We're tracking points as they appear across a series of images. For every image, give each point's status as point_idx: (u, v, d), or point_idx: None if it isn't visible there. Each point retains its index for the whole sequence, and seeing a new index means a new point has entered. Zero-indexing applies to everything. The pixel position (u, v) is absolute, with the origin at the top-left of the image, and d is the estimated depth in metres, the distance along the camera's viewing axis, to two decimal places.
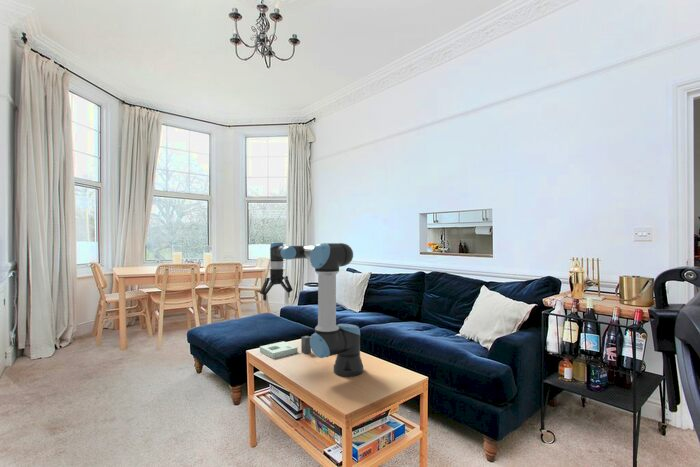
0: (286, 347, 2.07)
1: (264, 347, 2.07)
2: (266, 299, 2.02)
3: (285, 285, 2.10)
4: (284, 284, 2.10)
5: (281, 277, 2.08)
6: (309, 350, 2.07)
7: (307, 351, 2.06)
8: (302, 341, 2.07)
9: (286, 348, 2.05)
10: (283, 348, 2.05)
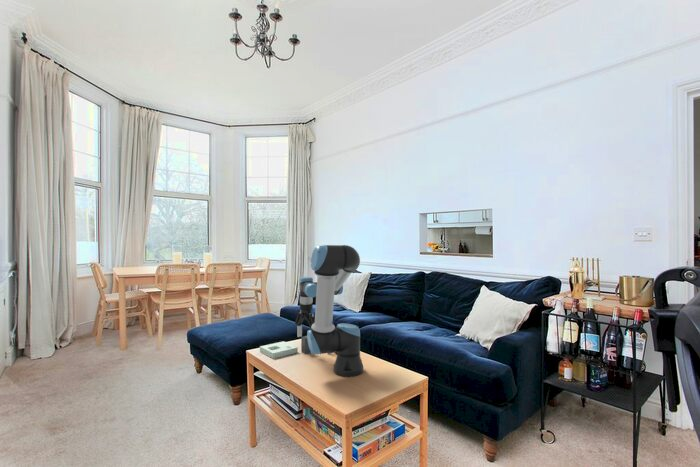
0: (286, 347, 2.07)
1: (264, 347, 2.07)
2: None
3: (309, 322, 2.03)
4: (308, 321, 2.04)
5: (307, 313, 2.05)
6: (309, 350, 2.07)
7: (307, 351, 2.06)
8: (302, 341, 2.07)
9: (286, 348, 2.05)
10: (283, 348, 2.05)
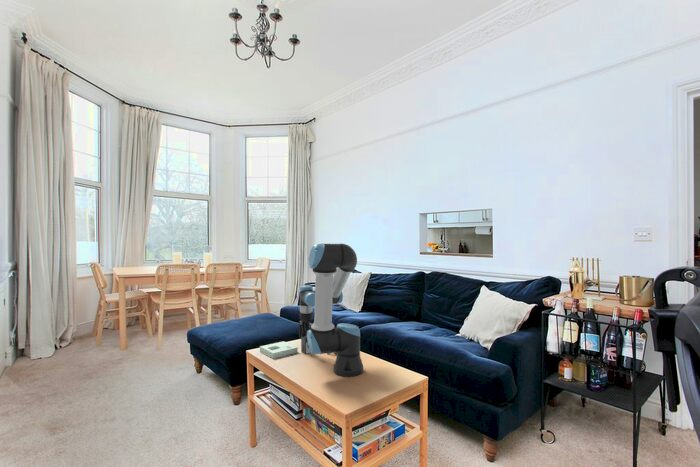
0: (286, 347, 2.07)
1: (264, 347, 2.07)
2: None
3: (307, 333, 2.05)
4: (306, 331, 2.05)
5: (307, 322, 2.05)
6: None
7: None
8: (301, 341, 2.07)
9: (286, 348, 2.05)
10: (283, 348, 2.05)
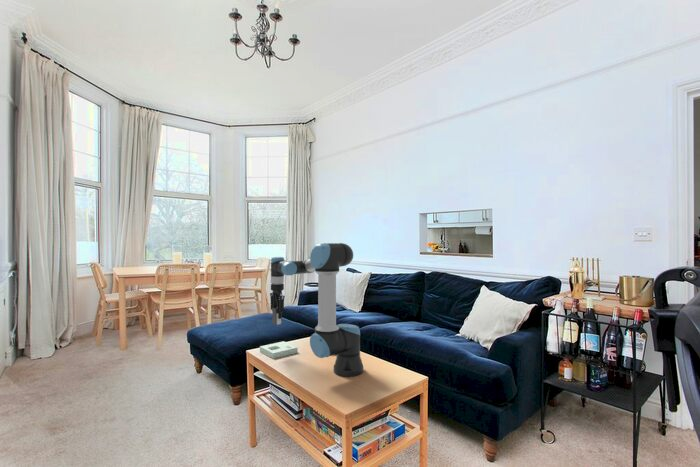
0: (286, 347, 2.07)
1: (264, 347, 2.07)
2: None
3: (277, 304, 2.04)
4: (277, 302, 2.04)
5: (277, 293, 2.04)
6: None
7: None
8: (272, 312, 2.06)
9: (286, 348, 2.05)
10: (283, 348, 2.05)
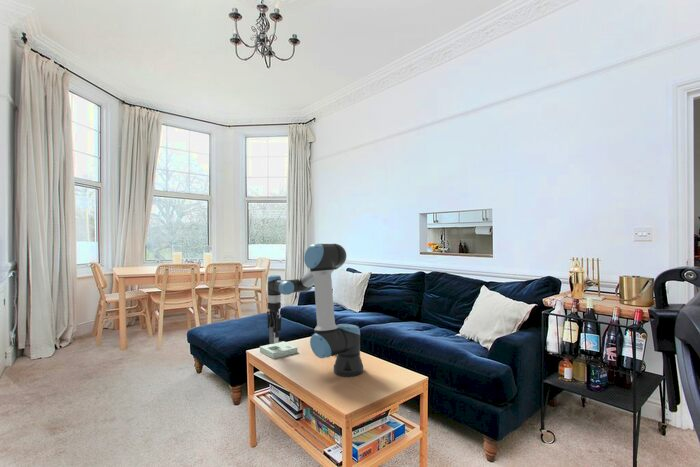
0: (286, 347, 2.07)
1: (264, 347, 2.07)
2: None
3: (274, 323, 2.03)
4: (274, 321, 2.03)
5: (274, 311, 2.03)
6: None
7: None
8: (269, 331, 2.06)
9: (286, 348, 2.05)
10: (283, 348, 2.05)
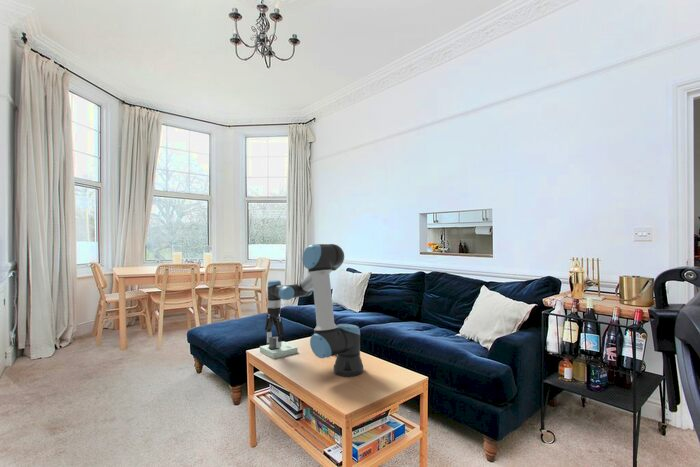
0: (286, 347, 2.07)
1: (264, 347, 2.07)
2: None
3: (276, 327, 2.02)
4: (275, 326, 2.02)
5: (274, 317, 2.03)
6: None
7: None
8: (269, 342, 2.05)
9: (286, 348, 2.05)
10: (283, 348, 2.05)
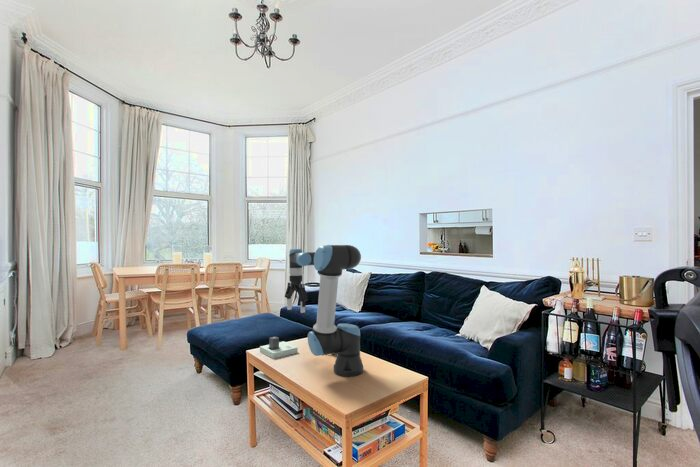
0: (286, 347, 2.07)
1: (264, 347, 2.07)
2: None
3: (299, 293, 2.04)
4: (298, 292, 2.04)
5: (296, 284, 2.06)
6: None
7: None
8: (269, 342, 2.05)
9: (286, 348, 2.05)
10: (283, 348, 2.05)
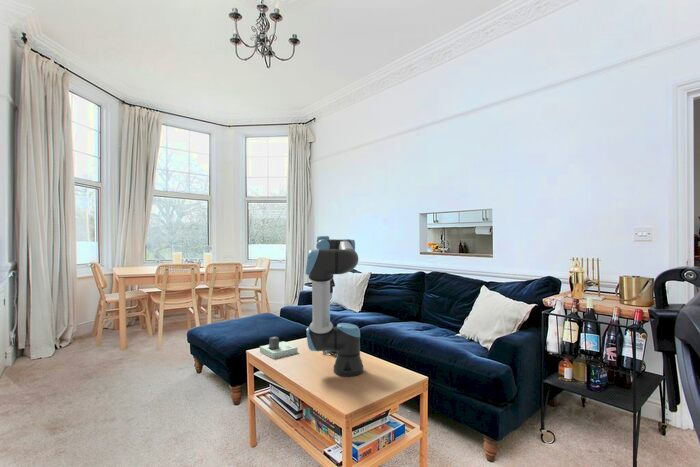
0: (286, 347, 2.07)
1: (264, 347, 2.07)
2: None
3: None
4: None
5: None
6: None
7: None
8: (269, 342, 2.05)
9: (286, 348, 2.05)
10: (283, 348, 2.05)
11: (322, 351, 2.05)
